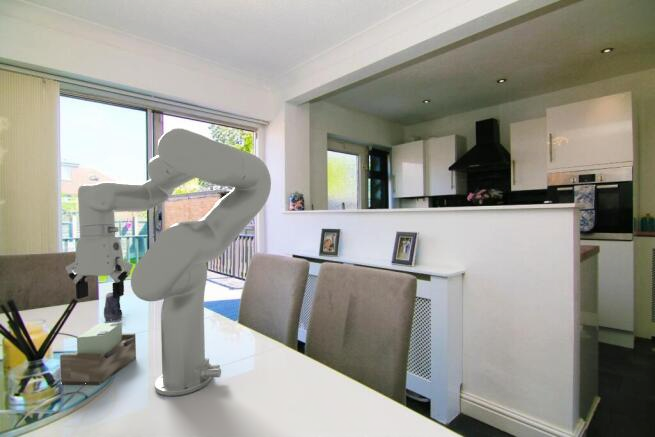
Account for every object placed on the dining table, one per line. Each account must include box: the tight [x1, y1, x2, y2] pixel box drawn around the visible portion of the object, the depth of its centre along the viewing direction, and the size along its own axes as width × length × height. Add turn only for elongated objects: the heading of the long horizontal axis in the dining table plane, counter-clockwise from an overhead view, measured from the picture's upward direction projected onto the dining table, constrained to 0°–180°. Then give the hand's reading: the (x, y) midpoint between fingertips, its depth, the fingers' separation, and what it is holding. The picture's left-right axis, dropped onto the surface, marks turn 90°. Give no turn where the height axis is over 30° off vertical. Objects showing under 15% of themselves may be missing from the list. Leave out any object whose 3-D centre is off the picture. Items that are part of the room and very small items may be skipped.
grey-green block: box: [76, 321, 123, 356], centre depth 84 cm, size 10×6×5 cm, turn 11°
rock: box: [103, 291, 123, 321], centre depth 128 cm, size 10×6×10 cm, turn 31°
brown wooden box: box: [59, 333, 137, 386], centre depth 84 cm, size 14×11×7 cm
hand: (100, 297), depth 84 cm, fingers open, 9 cm apart
